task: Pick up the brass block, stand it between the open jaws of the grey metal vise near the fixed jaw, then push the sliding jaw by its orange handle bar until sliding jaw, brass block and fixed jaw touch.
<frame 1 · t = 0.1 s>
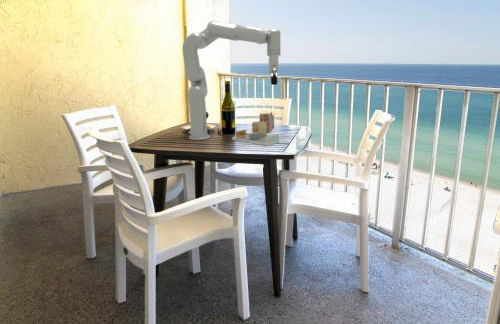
hand: (274, 84, 215), 31 cm above the table, tool pointing down, fingers open, 9 cm apart
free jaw: (247, 134, 216), point 3 cm above the table, slide at -5.0 cm
stack of blocks: (267, 130, 248), on the table
vise: (259, 141, 211), on the table
brass block: (259, 136, 225), on the table
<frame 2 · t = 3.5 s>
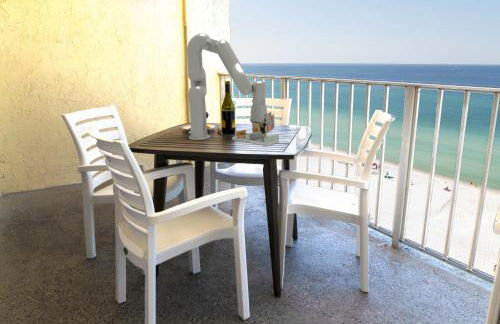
hand: (259, 132, 225), 2 cm above the table, tool pointing down, fingers closed on brass block, 5 cm apart
brass block: (259, 136, 225), on the table, touching gripper
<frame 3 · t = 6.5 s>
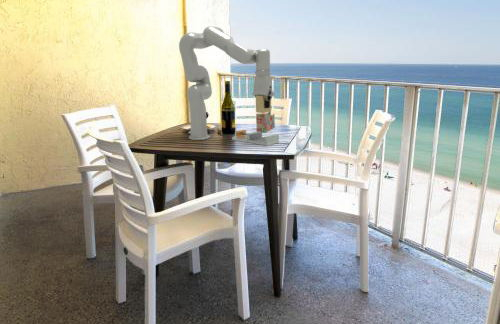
hand: (263, 107, 205), 19 cm above the table, tool pointing down, fingers closed on brass block, 5 cm apart
brass block: (263, 111, 205), point 17 cm above the table, touching gripper
when the fingers open (5 cm above the table, at t = 9.8 s): brass block stays where it is, resting on vise.
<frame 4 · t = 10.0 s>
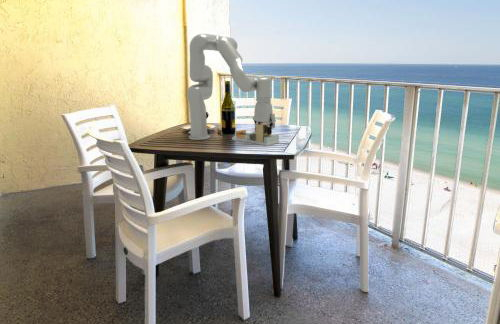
hand: (264, 133, 207), 5 cm above the table, tool pointing down, fingers open, 7 cm apart
brass block: (263, 140, 208), point 1 cm above the table, touching vise
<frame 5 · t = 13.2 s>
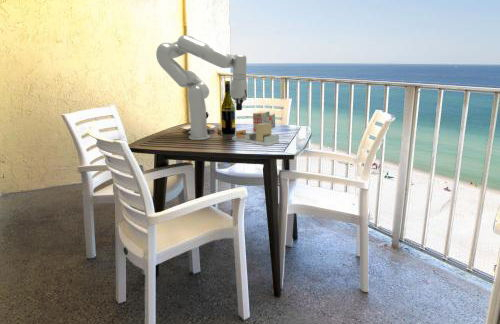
hand: (239, 110, 217), 17 cm above the table, tool pointing down, fingers closed
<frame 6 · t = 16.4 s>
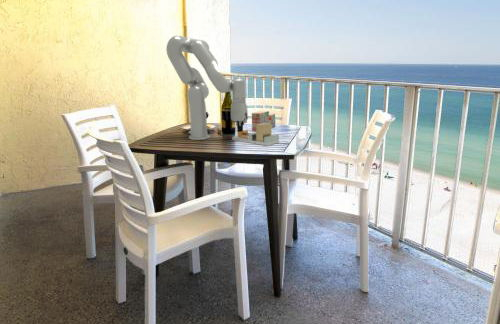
hand: (240, 132, 220), 4 cm above the table, tool pointing down, fingers closed
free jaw: (250, 134, 215), point 3 cm above the table, slide at -3.2 cm, touching gripper
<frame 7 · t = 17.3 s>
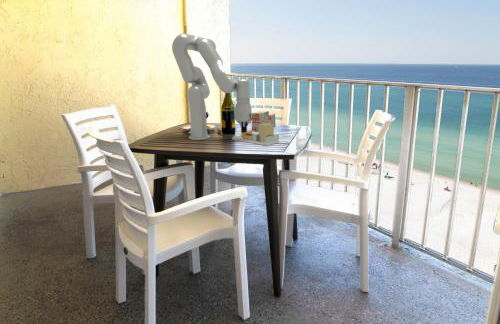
hand: (244, 133, 218), 4 cm above the table, tool pointing down, fingers closed
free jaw: (254, 135, 213), point 3 cm above the table, slide at 0.0 cm, touching brass block, gripper
brass block: (266, 140, 207), point 1 cm above the table, touching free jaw, vise
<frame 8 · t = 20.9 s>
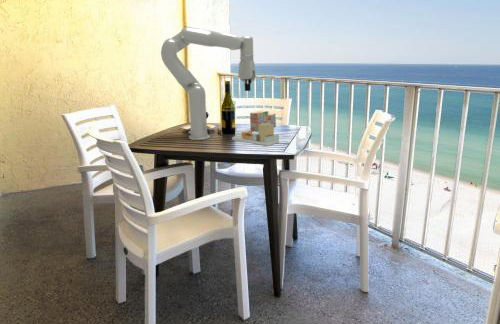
hand: (247, 90, 223), 27 cm above the table, tool pointing down, fingers closed
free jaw: (254, 135, 213), point 3 cm above the table, slide at 0.0 cm, touching brass block
at the end: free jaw slide at 0.0 cm; brass block 0.1 cm from the target spot, point 1.5 cm above the table; brass block tilted 0° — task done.
